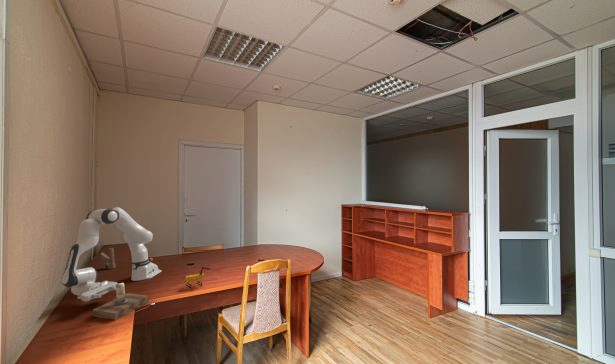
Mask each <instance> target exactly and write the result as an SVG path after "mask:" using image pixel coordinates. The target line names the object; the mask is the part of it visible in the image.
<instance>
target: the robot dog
mask: <svg viewBox="0 0 615 364" xmlns="http://www.w3.org/2000/svg"><path fill="white" fill-rule="evenodd" d="M203 270H208V271H209V270H211V268H210V267H205V266H202V267H201V270H200V272H199V273H197V274H191V275H186V276H185V280H184V284H183V285H184V286H186V287H187V288H190V289H192V286H193V285H192V284H190V283H189V282H190V281H193V280H195V282H194V283H195V284H197V285H198V286H200V287H202V286H203V283H202V282H201V281H200V280H201V279H204V277H205V273H203Z"/></svg>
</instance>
